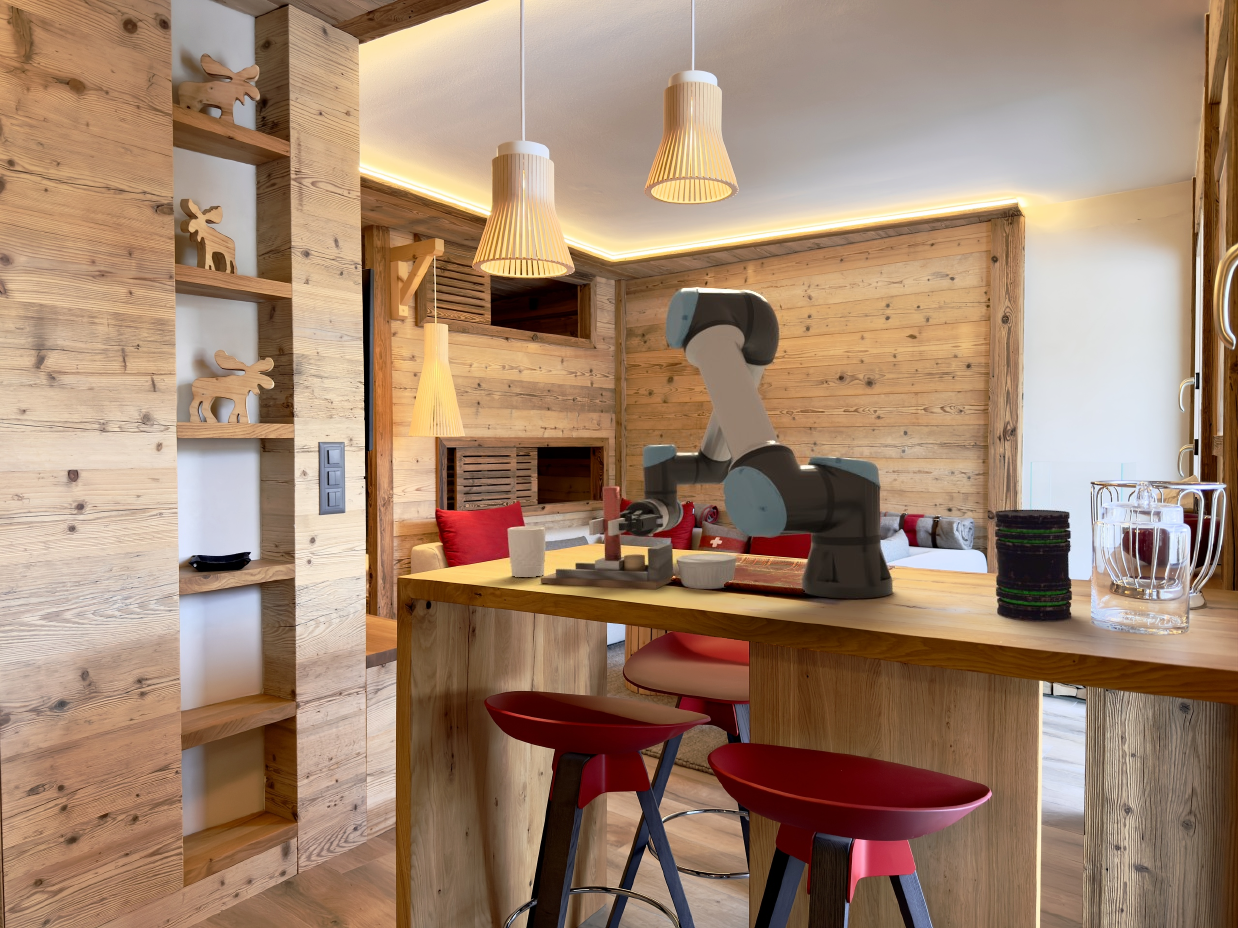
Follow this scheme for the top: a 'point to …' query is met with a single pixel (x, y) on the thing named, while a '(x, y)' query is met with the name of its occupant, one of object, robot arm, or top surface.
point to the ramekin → (706, 570)
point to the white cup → (527, 550)
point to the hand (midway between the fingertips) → (600, 528)
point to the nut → (634, 563)
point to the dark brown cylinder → (1033, 565)
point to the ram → (613, 543)
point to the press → (620, 573)
